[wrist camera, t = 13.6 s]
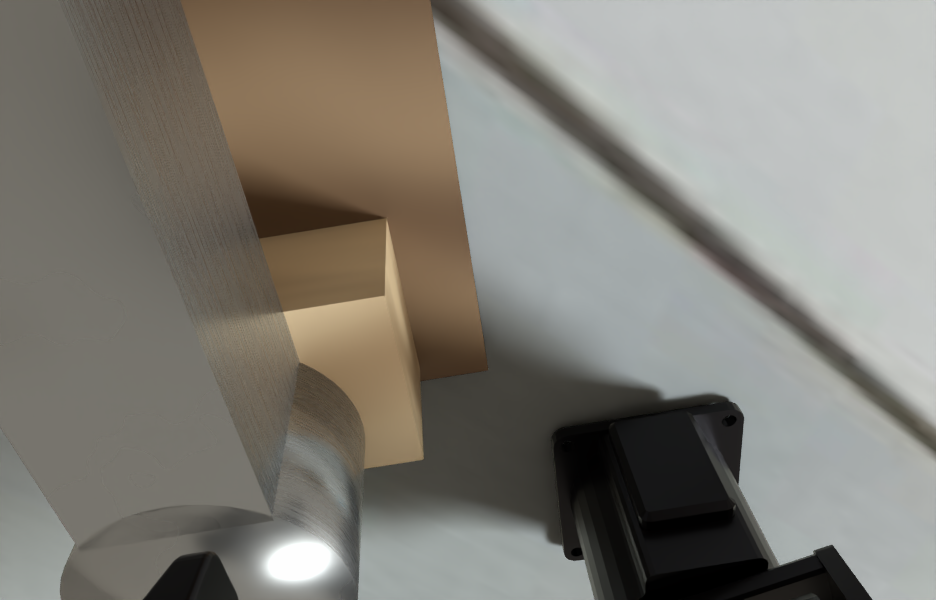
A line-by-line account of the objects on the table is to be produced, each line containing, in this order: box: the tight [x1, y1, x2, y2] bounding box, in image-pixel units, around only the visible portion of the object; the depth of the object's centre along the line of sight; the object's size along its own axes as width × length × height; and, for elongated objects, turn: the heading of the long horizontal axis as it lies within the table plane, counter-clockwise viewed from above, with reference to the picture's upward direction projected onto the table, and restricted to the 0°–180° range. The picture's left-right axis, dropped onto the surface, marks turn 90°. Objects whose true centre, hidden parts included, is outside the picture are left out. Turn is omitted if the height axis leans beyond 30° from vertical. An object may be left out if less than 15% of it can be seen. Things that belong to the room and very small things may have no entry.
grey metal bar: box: [0, 0, 365, 600], centre depth 11 cm, size 26×6×4 cm, turn 8°
